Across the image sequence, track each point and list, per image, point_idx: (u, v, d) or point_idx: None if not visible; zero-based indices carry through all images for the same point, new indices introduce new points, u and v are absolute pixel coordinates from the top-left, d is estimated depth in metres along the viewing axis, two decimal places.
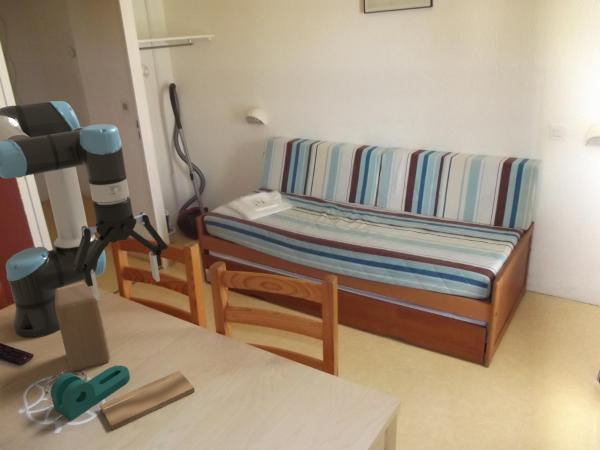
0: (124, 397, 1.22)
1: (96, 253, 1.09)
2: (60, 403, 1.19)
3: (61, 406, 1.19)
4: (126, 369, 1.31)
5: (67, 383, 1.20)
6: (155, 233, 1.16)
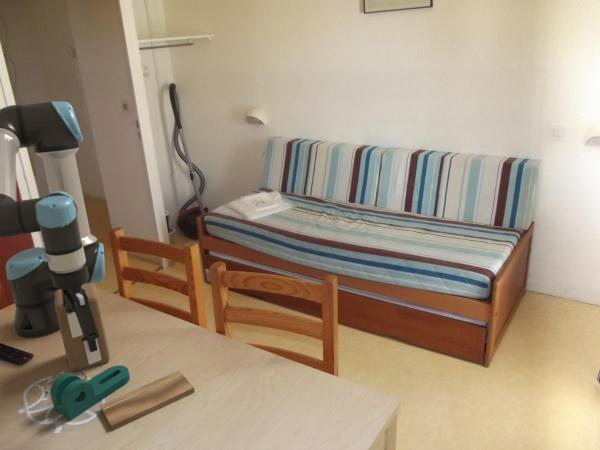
0: (124, 397, 1.22)
1: (65, 301, 1.20)
2: (60, 403, 1.19)
3: (60, 406, 1.19)
4: (126, 369, 1.31)
5: (67, 383, 1.20)
6: (81, 320, 1.10)
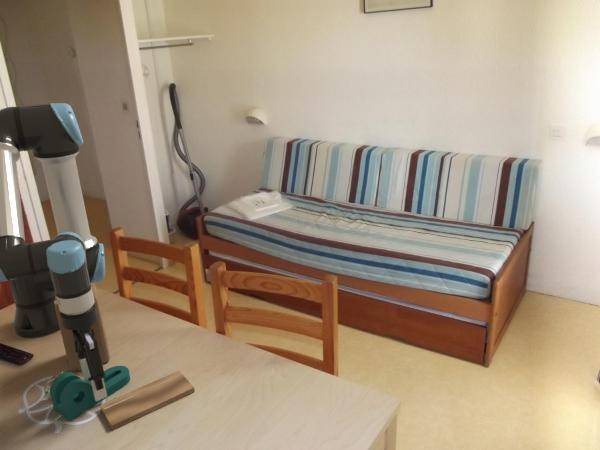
0: (124, 397, 1.22)
1: (77, 345, 1.23)
2: (59, 402, 1.19)
3: (60, 405, 1.19)
4: (126, 369, 1.30)
5: (66, 382, 1.20)
6: (89, 362, 1.15)
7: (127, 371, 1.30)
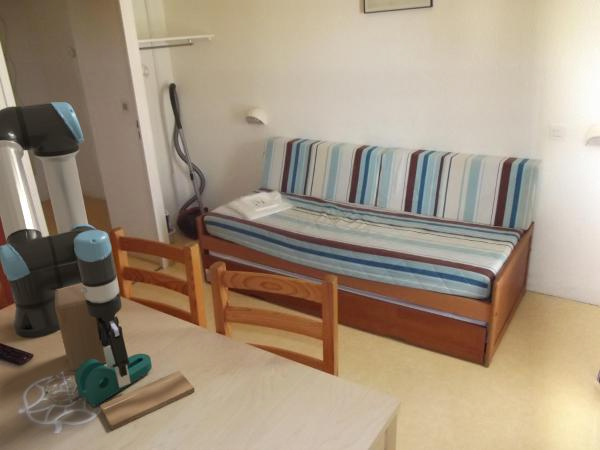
0: (124, 397, 1.22)
1: (101, 332, 1.27)
2: (84, 388, 1.22)
3: (85, 391, 1.22)
4: (148, 357, 1.33)
5: (91, 368, 1.23)
6: (114, 349, 1.18)
7: (149, 359, 1.33)
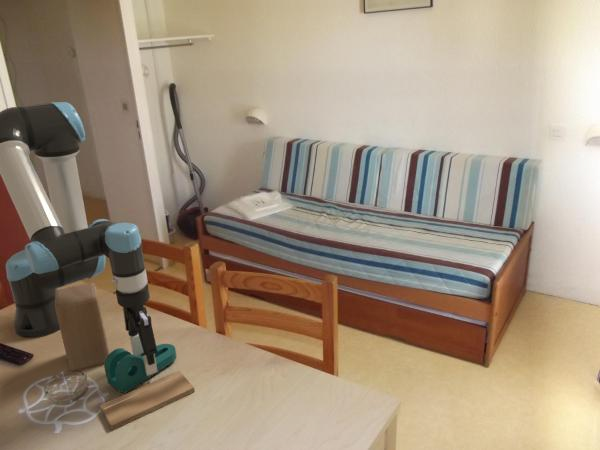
0: (124, 397, 1.22)
1: (128, 322, 1.30)
2: (113, 376, 1.26)
3: (114, 379, 1.26)
4: (173, 347, 1.37)
5: (119, 357, 1.27)
6: (143, 338, 1.22)
7: (174, 348, 1.37)
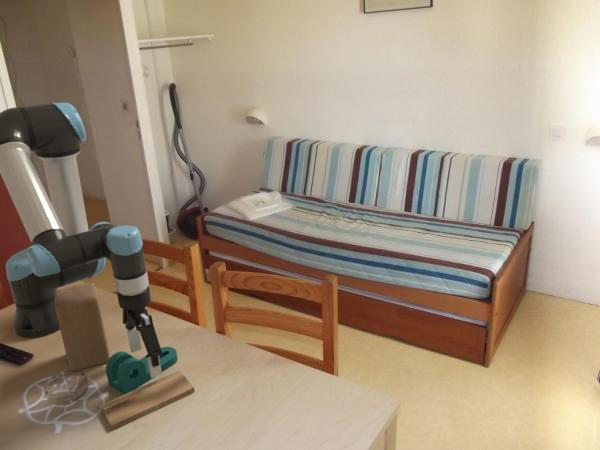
0: (124, 397, 1.22)
1: (127, 319, 1.31)
2: (114, 379, 1.27)
3: (115, 382, 1.26)
4: (174, 350, 1.38)
5: (121, 360, 1.27)
6: (146, 338, 1.21)
7: (175, 352, 1.37)
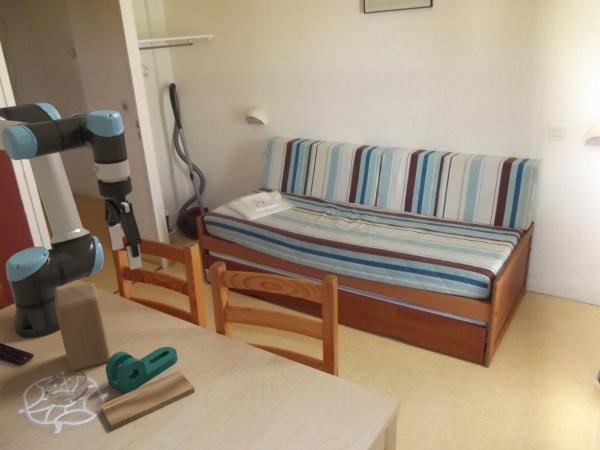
0: (124, 397, 1.22)
1: (108, 213, 1.29)
2: (114, 379, 1.27)
3: (115, 382, 1.26)
4: (174, 350, 1.38)
5: (121, 360, 1.27)
6: (125, 225, 1.19)
7: (175, 352, 1.37)
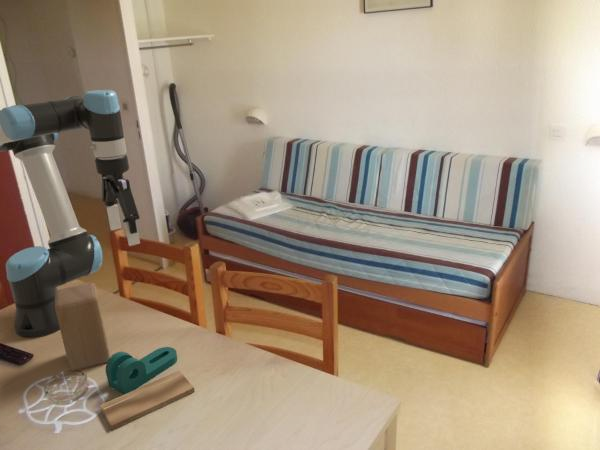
0: (124, 397, 1.22)
1: (106, 193, 1.32)
2: (114, 379, 1.27)
3: (115, 382, 1.26)
4: (174, 350, 1.38)
5: (121, 361, 1.27)
6: (123, 201, 1.22)
7: (175, 352, 1.37)
